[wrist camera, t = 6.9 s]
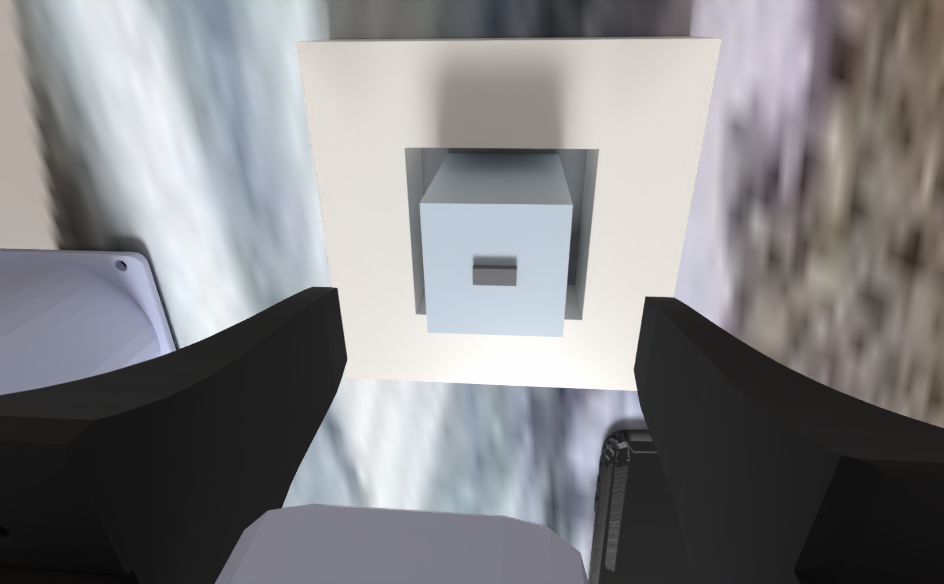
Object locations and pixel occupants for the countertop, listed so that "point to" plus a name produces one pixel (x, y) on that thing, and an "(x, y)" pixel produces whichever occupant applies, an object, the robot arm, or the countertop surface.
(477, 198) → the block
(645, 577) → the phone
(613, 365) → the block
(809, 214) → the countertop surface
